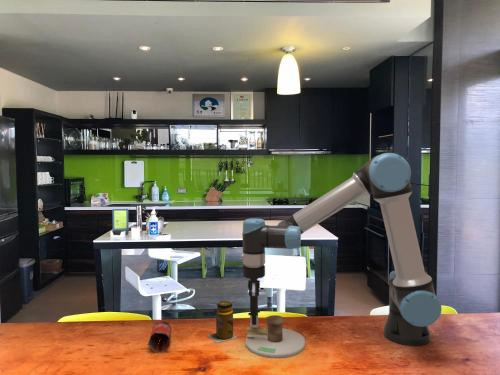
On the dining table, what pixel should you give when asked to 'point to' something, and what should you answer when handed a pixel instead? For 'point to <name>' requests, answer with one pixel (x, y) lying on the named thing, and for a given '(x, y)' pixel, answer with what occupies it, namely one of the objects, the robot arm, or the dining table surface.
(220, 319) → the condiment
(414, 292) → the robot arm
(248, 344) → the dial plate
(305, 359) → the dining table surface
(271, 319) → the tuning knob
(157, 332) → the beverage can
